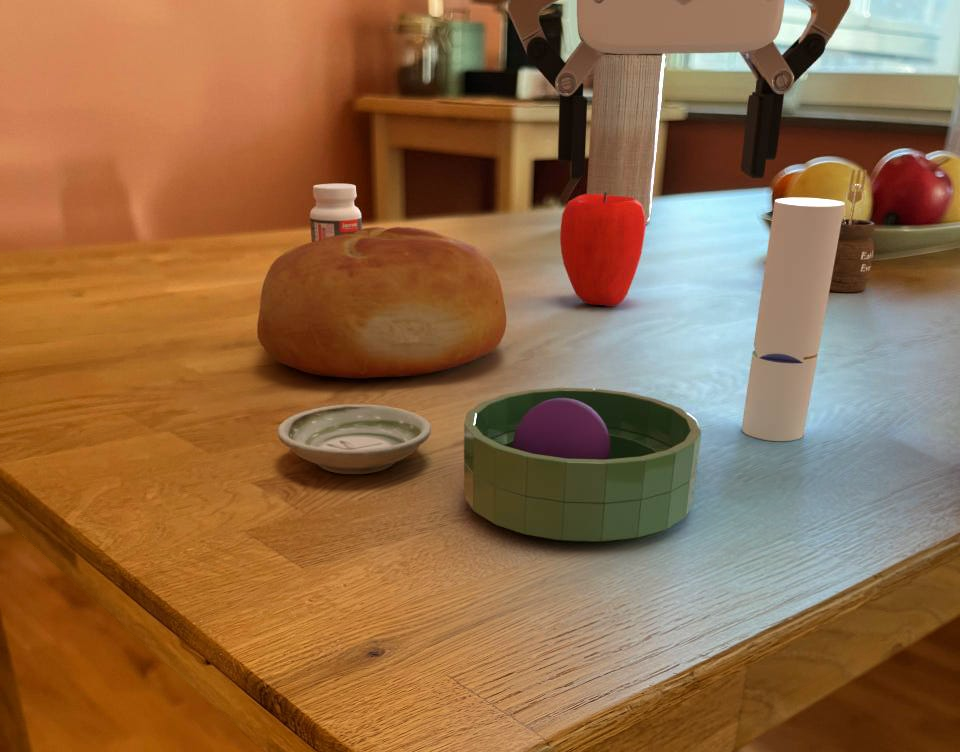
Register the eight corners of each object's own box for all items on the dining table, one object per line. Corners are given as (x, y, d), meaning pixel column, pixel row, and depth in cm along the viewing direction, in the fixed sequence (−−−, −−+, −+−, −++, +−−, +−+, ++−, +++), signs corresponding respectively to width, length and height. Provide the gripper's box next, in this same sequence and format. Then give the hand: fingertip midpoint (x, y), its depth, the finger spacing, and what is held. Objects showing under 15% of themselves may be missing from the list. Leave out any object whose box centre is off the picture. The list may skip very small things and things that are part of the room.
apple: (540, 298, 109) (545, 188, 103) (608, 291, 112) (616, 185, 107) (585, 315, 102) (592, 199, 97) (656, 307, 106) (667, 195, 100)
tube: (779, 418, 74) (816, 196, 67) (816, 437, 71) (859, 205, 63) (729, 425, 73) (761, 198, 65) (764, 444, 69) (802, 207, 62)
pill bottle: (351, 286, 113) (346, 190, 108) (305, 283, 115) (298, 187, 110) (372, 277, 118) (368, 184, 113) (327, 274, 119) (322, 181, 114)
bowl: (675, 467, 65) (684, 390, 63) (704, 555, 54) (716, 466, 52) (471, 461, 66) (471, 385, 63) (457, 547, 55) (457, 459, 52)
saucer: (462, 460, 66) (462, 424, 65) (350, 502, 60) (348, 463, 59) (361, 426, 72) (359, 393, 70) (249, 462, 65) (245, 425, 64)
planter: (616, 216, 163) (628, 52, 152) (663, 223, 157) (679, 53, 145) (571, 221, 158) (580, 52, 146) (619, 229, 151) (632, 53, 140)
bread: (198, 347, 90) (183, 226, 85) (410, 311, 103) (408, 204, 98) (340, 409, 75) (332, 267, 70) (568, 358, 88) (574, 235, 83)
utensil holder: (811, 291, 114) (831, 174, 108) (812, 280, 119) (831, 168, 113) (866, 295, 112) (890, 176, 106) (865, 284, 118) (887, 170, 112)
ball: (619, 457, 61) (589, 371, 59) (626, 492, 57) (593, 400, 54) (533, 488, 63) (499, 405, 60) (532, 525, 58) (496, 437, 55)
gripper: (506, -240, 45) (505, 185, 53) (907, -250, 44) (840, 183, 52) (509, -204, 51) (508, 170, 60) (858, -212, 50) (806, 167, 59)
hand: (663, 176), depth 56 cm, fingers open, 9 cm apart
